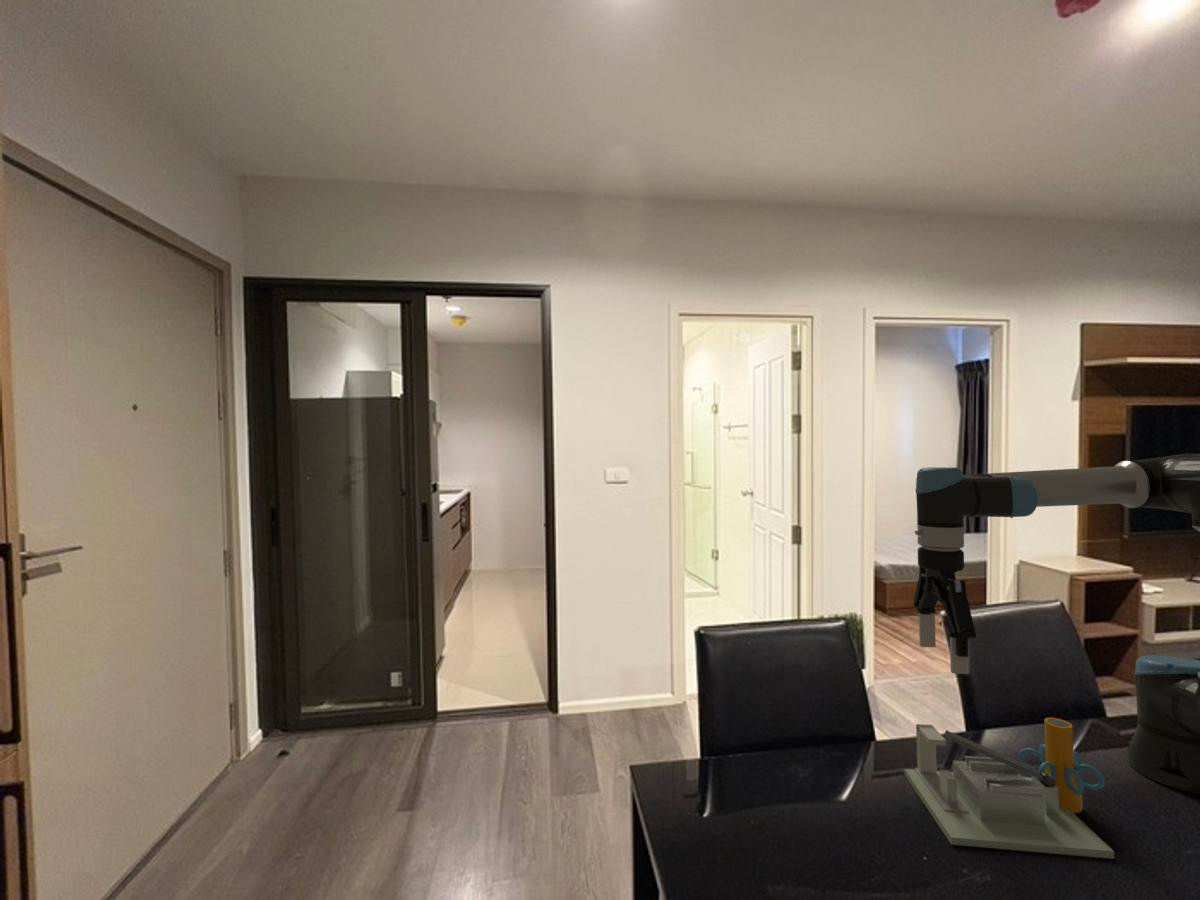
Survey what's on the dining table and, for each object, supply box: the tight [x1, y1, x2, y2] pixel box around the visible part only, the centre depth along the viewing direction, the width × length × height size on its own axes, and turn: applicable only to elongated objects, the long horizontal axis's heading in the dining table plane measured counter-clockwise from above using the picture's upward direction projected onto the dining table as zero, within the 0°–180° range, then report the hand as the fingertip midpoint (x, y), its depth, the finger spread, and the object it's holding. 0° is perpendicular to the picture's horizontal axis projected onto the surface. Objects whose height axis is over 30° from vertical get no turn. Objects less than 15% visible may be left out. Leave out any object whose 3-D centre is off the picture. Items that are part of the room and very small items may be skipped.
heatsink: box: [939, 755, 1059, 826], centre depth 98 cm, size 18×10×6 cm, turn 81°
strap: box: [944, 730, 1056, 787], centre depth 98 cm, size 18×4×1 cm, turn 80°
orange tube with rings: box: [1018, 717, 1106, 814], centre depth 100 cm, size 12×10×15 cm
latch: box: [915, 723, 947, 773], centre depth 107 cm, size 3×6×9 cm, turn 170°
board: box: [904, 767, 1115, 859], centre depth 98 cm, size 24×20×2 cm
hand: (942, 659), depth 103 cm, fingers open, 13 cm apart
